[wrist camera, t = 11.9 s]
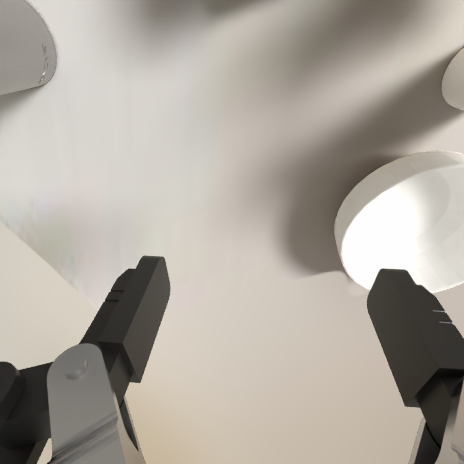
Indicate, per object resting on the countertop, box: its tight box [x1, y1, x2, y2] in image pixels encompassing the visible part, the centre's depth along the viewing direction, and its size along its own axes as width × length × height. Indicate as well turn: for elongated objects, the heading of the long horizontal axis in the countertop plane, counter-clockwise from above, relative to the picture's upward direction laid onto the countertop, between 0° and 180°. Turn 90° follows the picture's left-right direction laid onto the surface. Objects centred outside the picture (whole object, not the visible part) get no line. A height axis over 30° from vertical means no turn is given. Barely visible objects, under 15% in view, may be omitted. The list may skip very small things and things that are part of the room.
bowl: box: [334, 150, 464, 293], centre depth 36 cm, size 20×20×8 cm
